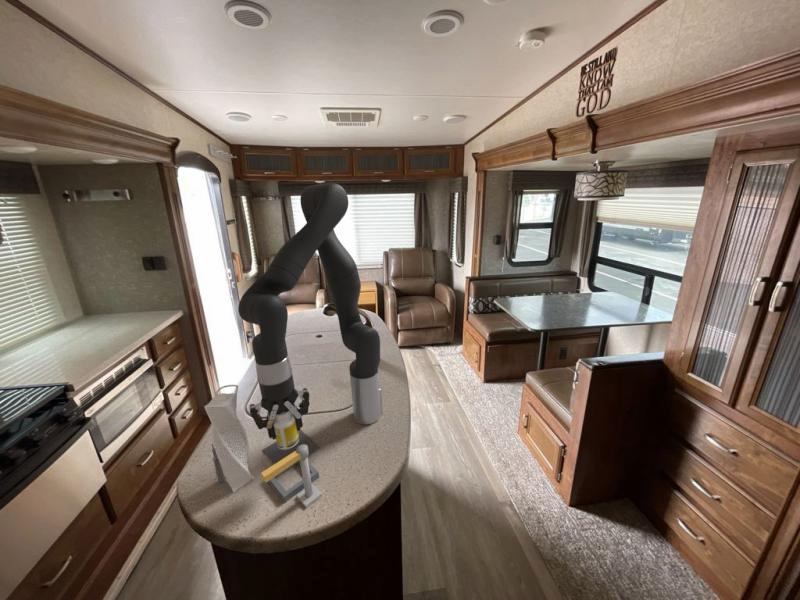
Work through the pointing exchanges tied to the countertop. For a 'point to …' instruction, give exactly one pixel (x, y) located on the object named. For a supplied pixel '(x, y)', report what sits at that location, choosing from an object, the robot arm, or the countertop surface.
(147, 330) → the countertop surface
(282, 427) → the supplement bottle
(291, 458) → the yellow lever
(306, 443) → the mat
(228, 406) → the skyscraper
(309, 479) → the socket
